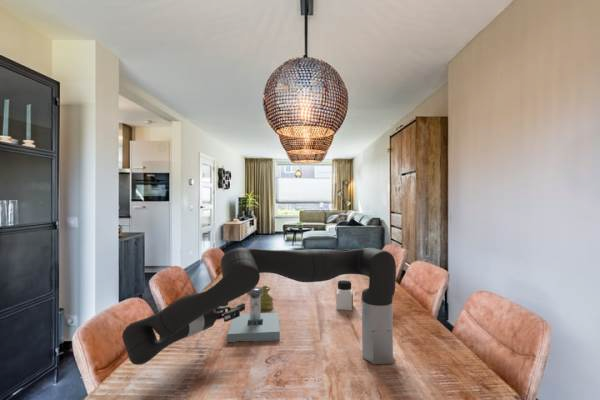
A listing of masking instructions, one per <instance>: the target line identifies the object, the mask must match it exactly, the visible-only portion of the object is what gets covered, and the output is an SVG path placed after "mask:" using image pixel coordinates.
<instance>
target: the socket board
mask: <svg viewBox="0 0 600 400" xmlns="http://www.w3.org/2000/svg"><path fill="white" fill-rule="evenodd" d="M230 321H231V322H230V324H229V327H228V330H227V334H226V343H227V342H233V343H239V342H238V341H253V342H267V341H269V342H270V341H272V342H273V341H280V340H281V339H280V338H281V336H280V335H281V334H280V333H281V332H280V313H279V312H261V325H251V326H250V313H240V316H239V317H237V318H234V319H232V320H230ZM236 341H237V342H236Z"/></svg>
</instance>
